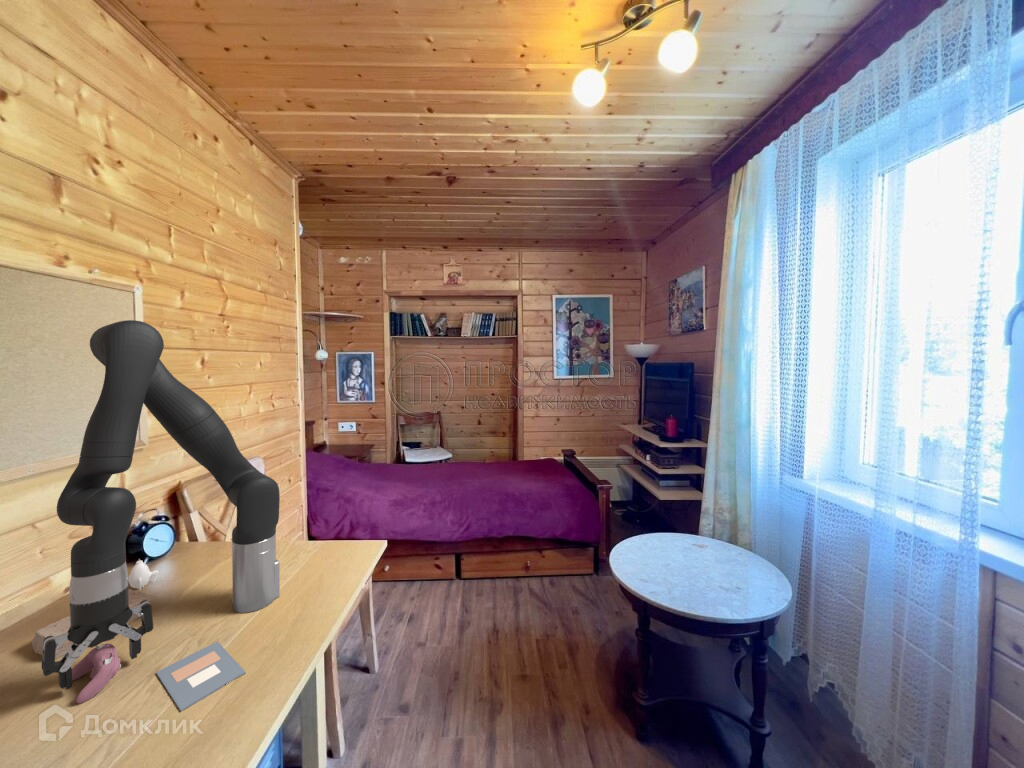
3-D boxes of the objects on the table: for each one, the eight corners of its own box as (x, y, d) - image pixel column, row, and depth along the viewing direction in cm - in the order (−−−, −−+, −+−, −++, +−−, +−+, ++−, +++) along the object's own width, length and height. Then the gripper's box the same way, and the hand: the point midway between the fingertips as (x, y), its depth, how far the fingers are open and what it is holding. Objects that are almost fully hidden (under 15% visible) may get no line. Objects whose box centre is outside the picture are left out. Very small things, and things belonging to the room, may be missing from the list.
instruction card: (217, 642, 82) (217, 641, 82) (245, 673, 74) (245, 671, 74) (156, 673, 73) (156, 671, 73) (180, 711, 66) (180, 709, 66)
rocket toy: (139, 581, 103) (139, 553, 103) (159, 581, 103) (159, 553, 103) (119, 593, 98) (118, 563, 97) (139, 593, 98) (139, 564, 97)
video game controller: (107, 700, 69) (130, 657, 72) (73, 706, 66) (99, 661, 68) (94, 675, 74) (116, 636, 77) (62, 680, 71) (86, 638, 73)
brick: (51, 663, 75) (50, 641, 75) (30, 651, 78) (29, 630, 78) (152, 613, 91) (152, 594, 91) (132, 604, 94) (132, 586, 94)
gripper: (145, 567, 79) (146, 640, 80) (37, 602, 67) (40, 687, 68) (156, 579, 75) (157, 656, 76) (43, 618, 63) (46, 709, 64)
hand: (102, 671), depth 72 cm, fingers open, 8 cm apart
